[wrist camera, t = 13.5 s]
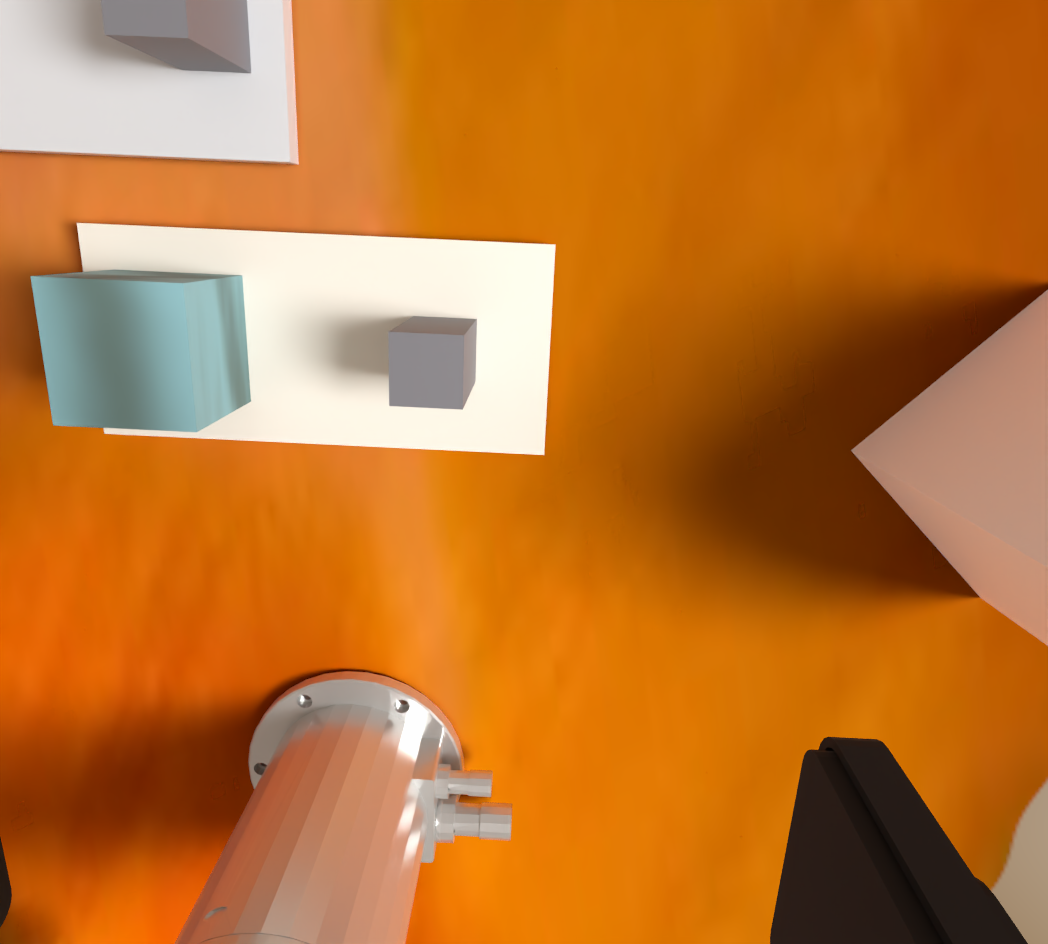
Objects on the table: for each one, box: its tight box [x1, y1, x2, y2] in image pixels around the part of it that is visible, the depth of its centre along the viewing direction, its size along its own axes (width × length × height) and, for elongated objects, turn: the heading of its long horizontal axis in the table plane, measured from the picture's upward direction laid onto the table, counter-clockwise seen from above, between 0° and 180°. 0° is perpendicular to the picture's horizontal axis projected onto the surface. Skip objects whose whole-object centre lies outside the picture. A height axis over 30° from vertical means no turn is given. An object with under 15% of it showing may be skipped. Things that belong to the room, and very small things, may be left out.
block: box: [31, 269, 251, 432], centre depth 33 cm, size 6×6×6 cm
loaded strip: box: [77, 223, 555, 455], centre depth 33 cm, size 22×10×7 cm, turn 88°
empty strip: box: [0, 0, 299, 165], centre depth 30 cm, size 18×10×7 cm, turn 88°
